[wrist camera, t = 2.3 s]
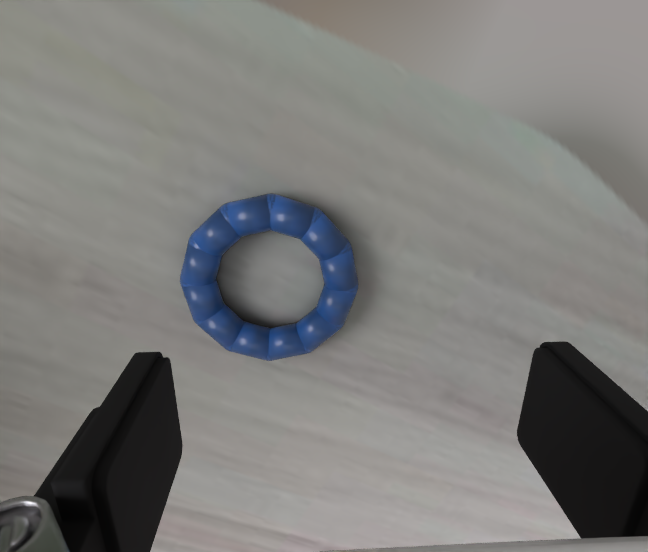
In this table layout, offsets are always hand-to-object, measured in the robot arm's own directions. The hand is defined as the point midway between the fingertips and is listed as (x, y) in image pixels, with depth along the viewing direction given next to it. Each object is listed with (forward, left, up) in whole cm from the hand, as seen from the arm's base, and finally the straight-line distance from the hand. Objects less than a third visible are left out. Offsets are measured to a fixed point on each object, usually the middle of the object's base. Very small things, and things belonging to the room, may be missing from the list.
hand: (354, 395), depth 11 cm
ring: (+2, -2, -8) cm, 8 cm away
